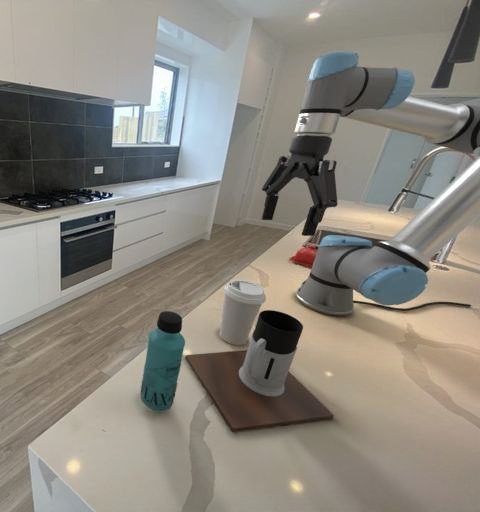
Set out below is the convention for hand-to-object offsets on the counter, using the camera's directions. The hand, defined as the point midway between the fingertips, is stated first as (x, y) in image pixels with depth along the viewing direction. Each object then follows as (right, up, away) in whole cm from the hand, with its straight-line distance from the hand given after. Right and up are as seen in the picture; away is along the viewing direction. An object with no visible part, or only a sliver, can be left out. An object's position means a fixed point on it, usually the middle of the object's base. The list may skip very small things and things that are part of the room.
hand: (285, 227), depth 75 cm
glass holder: (-14, -34, -13) cm, 39 cm away
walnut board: (-15, -35, -11) cm, 39 cm away
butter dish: (+45, -11, +57) cm, 73 cm away
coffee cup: (-11, -29, +4) cm, 31 cm away
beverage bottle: (-36, -36, -17) cm, 54 cm away
